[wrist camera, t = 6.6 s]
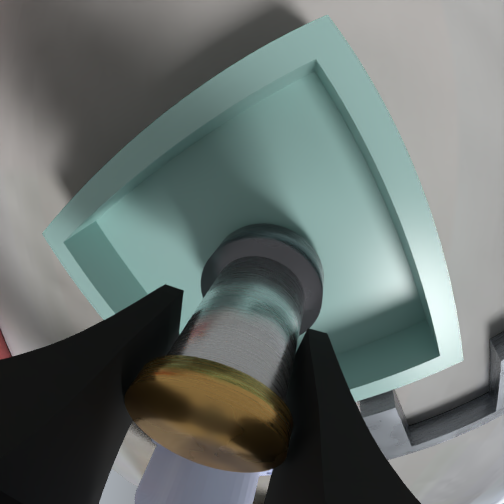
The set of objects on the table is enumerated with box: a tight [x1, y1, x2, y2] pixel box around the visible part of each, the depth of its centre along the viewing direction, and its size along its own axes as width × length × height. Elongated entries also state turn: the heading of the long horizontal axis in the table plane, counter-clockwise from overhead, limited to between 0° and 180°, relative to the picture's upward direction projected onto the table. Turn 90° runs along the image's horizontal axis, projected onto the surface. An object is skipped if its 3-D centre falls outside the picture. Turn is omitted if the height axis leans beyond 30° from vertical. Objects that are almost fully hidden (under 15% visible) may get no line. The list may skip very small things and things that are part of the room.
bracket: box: [360, 332, 504, 460], centre depth 14 cm, size 10×7×2 cm
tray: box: [42, 15, 463, 402], centre depth 11 cm, size 13×13×3 cm
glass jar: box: [124, 223, 324, 473], centre depth 9 cm, size 4×4×7 cm
